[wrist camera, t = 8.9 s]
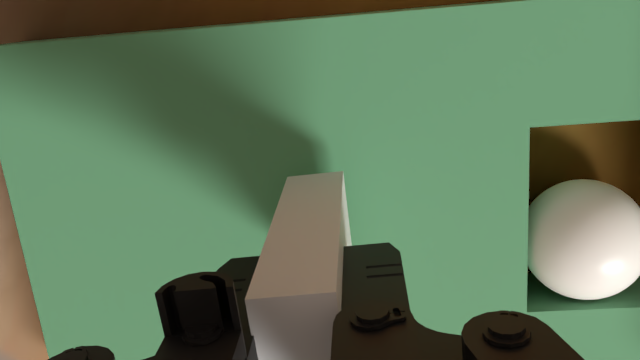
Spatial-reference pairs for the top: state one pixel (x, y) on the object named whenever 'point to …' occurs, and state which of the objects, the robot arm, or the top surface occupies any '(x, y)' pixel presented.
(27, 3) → the top surface
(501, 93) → the putting board
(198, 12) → the top surface
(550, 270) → the golf ball
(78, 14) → the top surface
